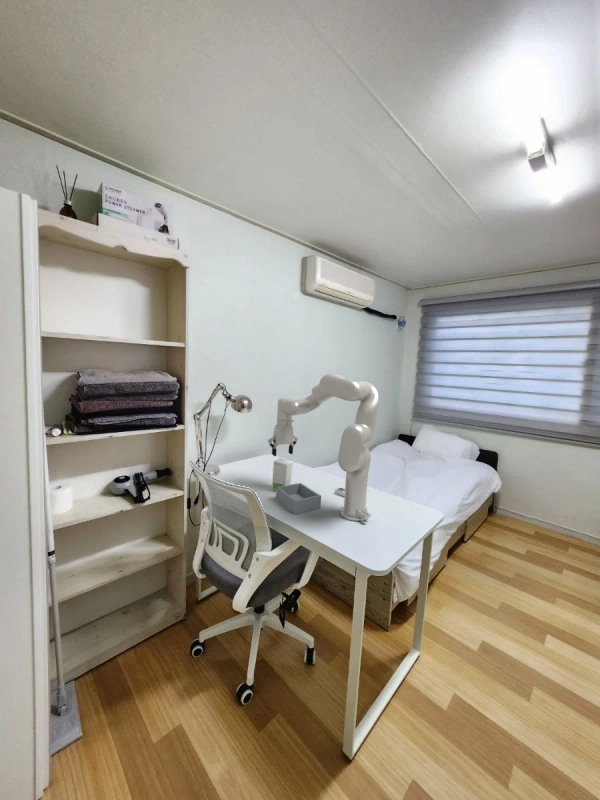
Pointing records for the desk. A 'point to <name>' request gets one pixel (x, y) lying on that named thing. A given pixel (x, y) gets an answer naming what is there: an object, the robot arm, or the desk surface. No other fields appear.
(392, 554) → the desk surface
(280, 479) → the skincare box
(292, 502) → the tote
